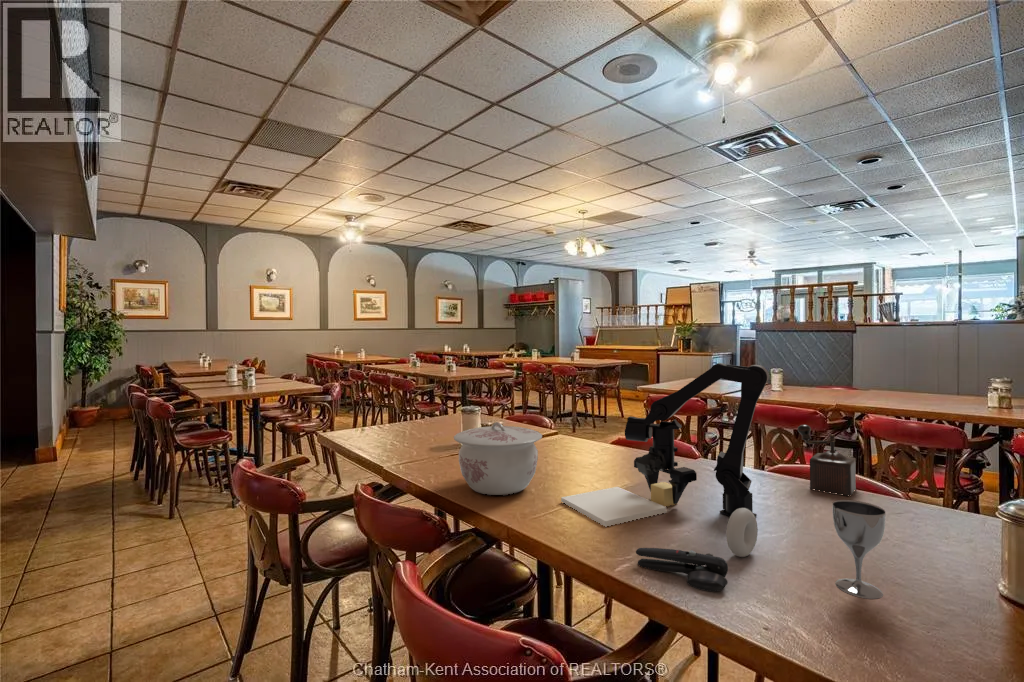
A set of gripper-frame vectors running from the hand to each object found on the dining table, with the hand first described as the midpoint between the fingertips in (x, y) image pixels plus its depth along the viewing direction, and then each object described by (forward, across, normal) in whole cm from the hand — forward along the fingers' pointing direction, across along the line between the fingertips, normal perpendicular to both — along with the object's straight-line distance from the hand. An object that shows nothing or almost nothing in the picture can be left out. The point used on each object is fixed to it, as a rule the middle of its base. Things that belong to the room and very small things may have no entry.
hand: (664, 499), depth 135 cm
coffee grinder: (+1, +13, +52) cm, 54 cm away
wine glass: (+1, +51, -2) cm, 51 cm away
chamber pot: (+1, -34, -35) cm, 49 cm away
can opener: (+2, +32, -27) cm, 42 cm away
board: (+1, -4, -15) cm, 16 cm away
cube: (+1, 0, 0) cm, 1 cm away
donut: (+1, +32, -9) cm, 33 cm away
